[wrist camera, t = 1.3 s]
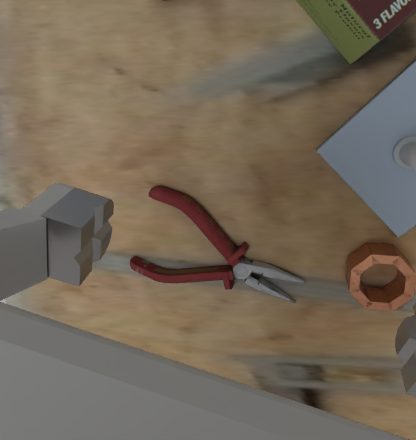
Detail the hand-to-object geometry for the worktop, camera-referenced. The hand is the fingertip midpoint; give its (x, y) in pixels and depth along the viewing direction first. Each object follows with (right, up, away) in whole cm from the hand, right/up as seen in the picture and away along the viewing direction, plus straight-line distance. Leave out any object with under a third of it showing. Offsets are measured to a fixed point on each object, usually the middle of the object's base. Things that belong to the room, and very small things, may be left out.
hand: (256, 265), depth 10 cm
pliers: (-1, -4, +37) cm, 37 cm away
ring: (+17, -4, +32) cm, 36 cm away
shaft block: (+18, +8, +28) cm, 34 cm away
